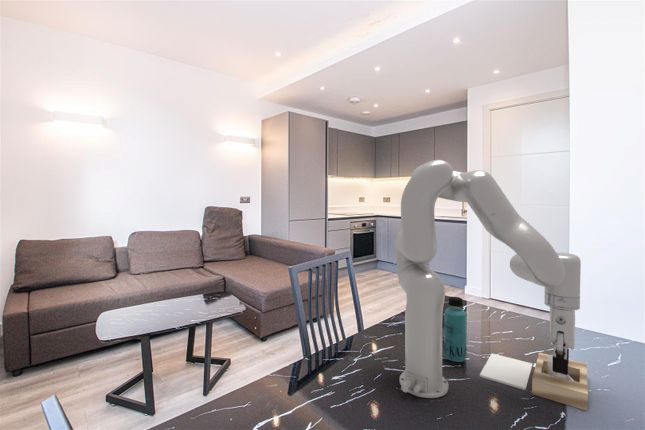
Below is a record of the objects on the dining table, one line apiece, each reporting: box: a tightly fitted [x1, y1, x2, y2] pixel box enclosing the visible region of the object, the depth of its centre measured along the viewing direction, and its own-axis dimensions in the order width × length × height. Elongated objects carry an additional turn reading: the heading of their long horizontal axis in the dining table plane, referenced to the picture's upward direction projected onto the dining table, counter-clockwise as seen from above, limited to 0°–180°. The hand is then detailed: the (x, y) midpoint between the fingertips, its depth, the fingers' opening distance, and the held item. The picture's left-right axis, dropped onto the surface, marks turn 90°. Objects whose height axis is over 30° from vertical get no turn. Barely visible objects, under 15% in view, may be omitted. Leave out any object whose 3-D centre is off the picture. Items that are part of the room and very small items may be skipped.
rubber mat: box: [479, 353, 533, 391], centre depth 94 cm, size 16×11×1 cm
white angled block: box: [548, 353, 574, 381], centre depth 86 cm, size 4×10×9 cm, turn 168°
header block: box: [531, 352, 589, 412], centre depth 86 cm, size 18×11×4 cm, turn 142°
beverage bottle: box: [443, 296, 467, 363], centre depth 99 cm, size 6×7×20 cm
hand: (560, 366), depth 86 cm, fingers open, 6 cm apart
